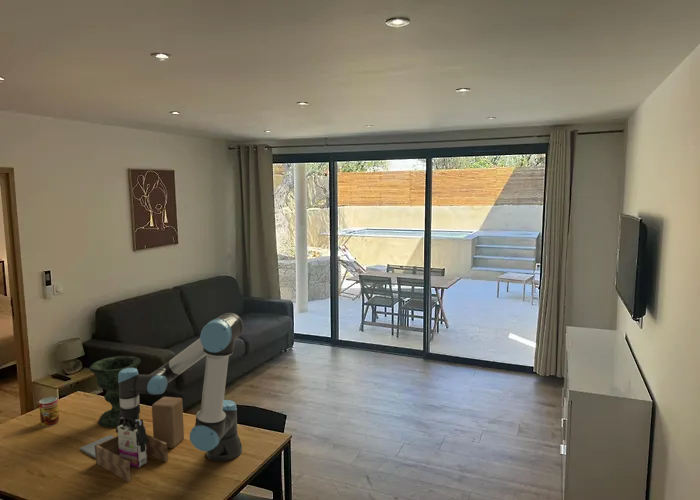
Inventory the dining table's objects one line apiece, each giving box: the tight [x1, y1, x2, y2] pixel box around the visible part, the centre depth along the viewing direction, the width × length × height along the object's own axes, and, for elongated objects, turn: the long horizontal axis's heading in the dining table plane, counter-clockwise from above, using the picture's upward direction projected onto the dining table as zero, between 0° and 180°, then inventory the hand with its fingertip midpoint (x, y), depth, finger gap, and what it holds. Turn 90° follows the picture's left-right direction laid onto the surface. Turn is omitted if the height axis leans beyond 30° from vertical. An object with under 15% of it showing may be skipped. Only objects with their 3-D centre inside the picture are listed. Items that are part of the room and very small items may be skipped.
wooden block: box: [151, 396, 185, 449], centre depth 221 cm, size 10×10×20 cm
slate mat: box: [79, 434, 115, 459], centre depth 218 cm, size 14×14×1 cm
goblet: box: [89, 355, 142, 428], centre depth 244 cm, size 22×22×30 cm
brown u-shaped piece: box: [95, 433, 169, 482], centre depth 206 cm, size 24×18×8 cm
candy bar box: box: [116, 425, 148, 469], centre depth 205 cm, size 11×5×16 cm, turn 68°
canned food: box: [38, 396, 60, 428], centre depth 242 cm, size 8×8×12 cm
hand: (132, 453), depth 205 cm, fingers open, 12 cm apart
